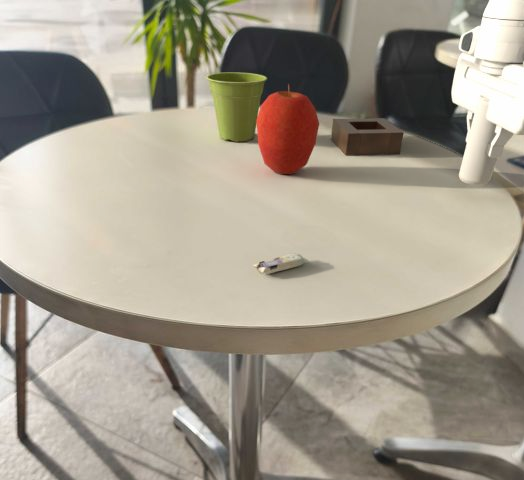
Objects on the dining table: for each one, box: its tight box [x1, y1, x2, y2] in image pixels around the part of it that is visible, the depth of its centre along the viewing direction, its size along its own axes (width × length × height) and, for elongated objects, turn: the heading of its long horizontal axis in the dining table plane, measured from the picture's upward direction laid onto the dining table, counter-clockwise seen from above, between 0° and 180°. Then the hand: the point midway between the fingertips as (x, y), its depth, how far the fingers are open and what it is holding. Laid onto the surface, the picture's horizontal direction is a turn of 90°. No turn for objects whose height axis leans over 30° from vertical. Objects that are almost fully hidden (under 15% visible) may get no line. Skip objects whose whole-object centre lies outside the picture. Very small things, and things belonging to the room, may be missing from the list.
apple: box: [256, 84, 320, 175], centre depth 82 cm, size 10×10×14 cm
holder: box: [330, 117, 405, 156], centre depth 99 cm, size 11×11×4 cm
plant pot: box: [205, 71, 268, 143], centre depth 99 cm, size 12×12×11 cm
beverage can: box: [458, 95, 498, 186], centre depth 74 cm, size 5×5×12 cm
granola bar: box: [251, 253, 310, 275], centre depth 59 cm, size 7×2×1 cm, turn 119°
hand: (482, 150), depth 75 cm, fingers closed on beverage can, 5 cm apart
